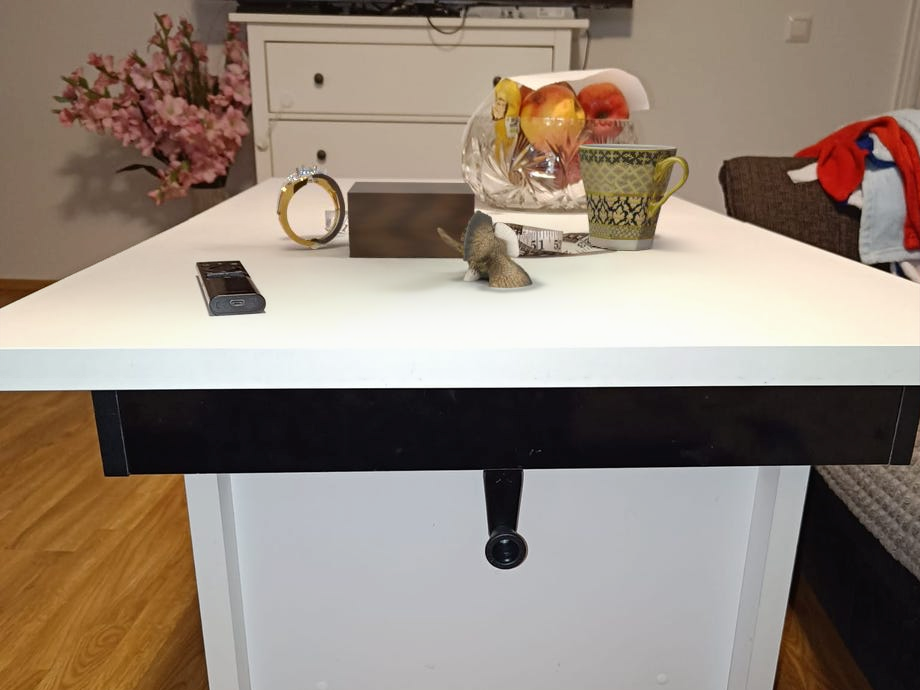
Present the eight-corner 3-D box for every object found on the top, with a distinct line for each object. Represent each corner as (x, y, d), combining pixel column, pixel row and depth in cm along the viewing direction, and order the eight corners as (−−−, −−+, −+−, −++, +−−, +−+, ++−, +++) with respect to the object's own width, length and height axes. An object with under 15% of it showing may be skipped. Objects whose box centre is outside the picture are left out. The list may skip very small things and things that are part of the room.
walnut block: (349, 257, 89) (347, 192, 87) (357, 239, 100) (355, 181, 98) (474, 257, 90) (474, 193, 88) (468, 240, 101) (468, 182, 99)
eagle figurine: (412, 272, 75) (440, 269, 67) (455, 194, 75) (489, 182, 67) (489, 320, 78) (526, 323, 69) (531, 245, 78) (573, 239, 69)
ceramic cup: (554, 243, 100) (558, 144, 96) (617, 236, 105) (624, 143, 102) (647, 260, 90) (655, 151, 87) (710, 251, 96) (721, 149, 93)
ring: (340, 244, 97) (336, 163, 94) (351, 248, 94) (348, 165, 91) (275, 248, 94) (269, 164, 91) (285, 252, 91) (279, 167, 88)
